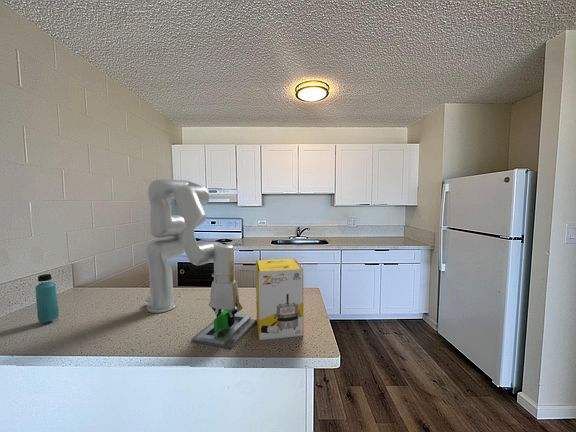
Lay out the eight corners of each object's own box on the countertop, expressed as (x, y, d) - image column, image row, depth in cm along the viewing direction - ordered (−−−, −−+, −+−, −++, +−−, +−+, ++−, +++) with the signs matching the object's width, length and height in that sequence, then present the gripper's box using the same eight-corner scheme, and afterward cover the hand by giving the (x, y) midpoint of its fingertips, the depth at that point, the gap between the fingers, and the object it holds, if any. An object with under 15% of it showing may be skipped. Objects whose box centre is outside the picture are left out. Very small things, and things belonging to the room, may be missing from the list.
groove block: (191, 341, 94) (191, 335, 94) (222, 316, 113) (222, 311, 113) (231, 349, 89) (230, 342, 89) (256, 322, 108) (256, 316, 108)
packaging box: (294, 316, 113) (294, 258, 112) (303, 335, 98) (303, 269, 96) (256, 319, 111) (255, 260, 109) (259, 340, 95) (258, 271, 93)
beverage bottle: (62, 319, 112) (59, 273, 110) (44, 327, 105) (40, 277, 104) (52, 317, 114) (49, 271, 112) (33, 324, 108) (29, 276, 106)
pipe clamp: (223, 333, 95) (223, 321, 95) (214, 332, 96) (213, 320, 95) (235, 318, 106) (235, 307, 106) (226, 318, 107) (226, 307, 106)
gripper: (199, 278, 99) (200, 325, 100) (239, 283, 94) (240, 333, 95) (211, 273, 106) (212, 317, 107) (249, 276, 101) (249, 323, 102)
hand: (225, 324), depth 101 cm, fingers closed on pipe clamp, 4 cm apart
